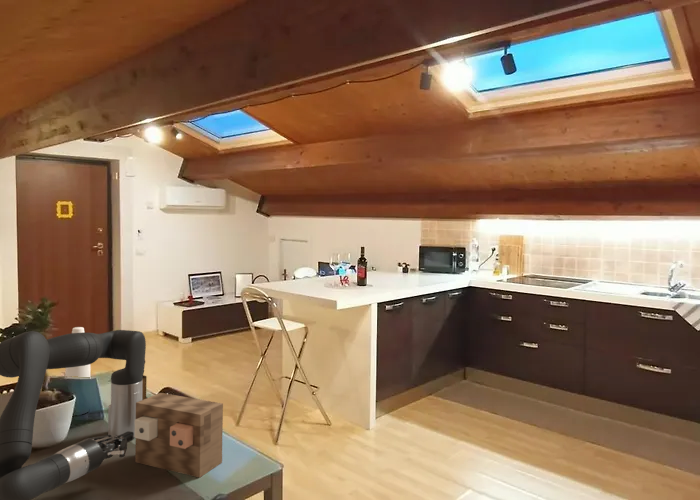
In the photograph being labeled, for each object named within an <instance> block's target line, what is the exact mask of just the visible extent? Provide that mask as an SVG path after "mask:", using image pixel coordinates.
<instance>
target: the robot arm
mask: <svg viewBox="0 0 700 500" xmlns="http://www.w3.org/2000/svg"><path fill="white" fill-rule="evenodd" d="M146 343H147V341H146V337H145V335H144V333H143V332H142V331H138V330H130V329H128V330H127V329H116V330H111V331H107V332H103V333H95V332H84V333H72V332H71V333H66V334H62V335H58V336H55V337H51V338H48V339H47V338H46V337H45V335H43V334H42V333H41V332H39V331H36V330H30V331H25V332H22V333H20V334H18V335H14V336H12V337H10V338H8V339H5V340H3V341H1V342H0V376H1V377H4V378H16V377H18V378H17V382H16V385H15V387H14V390H13V392H12V394H11V396H10V398H9V400H8V401H7V404H6V406H5V408H4V409H3V411H2V413H1V415H0V500H33V499H36V498H37V497H39V496H41V495H42V494H45V493H48V492H50V491H53V490H54V489H56V488H58V487H61V486H62V485H65V484H66V483H70V482H72V481H75V480H77V479H79V478H81V477H83V476H86V475H88V474H89V473H91V472H93V471H95V470H97V469H98V468H99V467H100V466H101V465H102V464H103V461H104V460H107V459H111V458H112V457H113V456H115V455H118V456H119V458H125V456H126V452H127V450H128V443H130V442H132V441H133V440H134V439H136V438H135V420H136V402H139V401H141V400H142V383H143V380H142V379H143V375H144V374H143V372H145V365H146V347H147V344H146ZM99 359H112V360H118V361H119V360H120V361H121V360H122V361H125V365H124V367H123V368H120V369H117V370H114V371H113V372H112V373H111V375H110V404H109V405H108V407H107V408H108V413H107V415H108V417H107V418H108V419H107V420H108V421H107V423H108V424H107V431H108V432H107V433H108V434H105V435H100V436H93V437H87V438H85V439H83V440H81V441H77V443H76V442H75V443H74V444H72V445H69V446H67V447H64V448H63V449H60V450H58V451H57V452H55V453H54V454H51V455H48V456H47V457H44V458H42V459H39V460H38V461H36V462H35V463H31V464H28V465H25V463H26V462H28V460H29V459H30V457H31V454H32V449H33V448H32V447H33V438H34V427H35V426H34V425H35V419H36V418H35V416H36V411H37V407H38V403H39V399H40V395H41V391H42V387H43V384H44V380H45V376H46V372H47V370H57V369H66V368H69V367H78V366H85V365H89V364H90V365H91V364H94V363H95V362H97V360H99ZM23 465H25V466H23Z"/></svg>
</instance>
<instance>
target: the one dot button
mask: <svg viewBox="0 0 700 500" xmlns="http://www.w3.org/2000/svg"><path fill="white" fill-rule="evenodd" d="M156 437H158V418H154V417H149V416H142V417H140V418H138V419H136V420H135V438H134V439H136V438H138V439H142V440H147V441H150V440H152V439H154V438H156Z"/></svg>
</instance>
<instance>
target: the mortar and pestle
mask: <svg viewBox="0 0 700 500" xmlns="http://www.w3.org/2000/svg"><path fill="white" fill-rule="evenodd" d="M144 372H145V371H144ZM144 372H143V379H142V380H143V383H142V400H144V399H146V398H148V397H147V378H148V377H147V375H144V374H145V373H144Z"/></svg>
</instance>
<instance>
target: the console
mask: <svg viewBox="0 0 700 500" xmlns="http://www.w3.org/2000/svg"><path fill="white" fill-rule="evenodd" d="M142 416H149V417H154V418H158V437H156V438H154V439H152V440H150V441H147V440H142V439H138V438H135V452H134V453H135V455H134V456H135V463H137V464H142V465H146V466H150V467H152V468H153V467H154V468H158V469H162V470H166V471H170V472H174V473H178V474H183V475H188V476H192V477H196V478H199V479H201V478H202V477H203V476H204V475H206V474H207V473H209V472H210V471H212V470H214V469H215V468H217V467H218V466H219V465H221V464H222V463H223V430H224V429H223V426H224V425H223V424H224V423H223V422H224V420H223V419H224V403H221V402H215V401H210V400H204V399H200V398H199V399H198V398H194V397H187V396H182V395H181V396H180V395H178V394H177V395H176V394H170V393H164V392H160V393H157V394H154V395H152V396H149V397H147V398H146V399H144V400H141V401H139V402H136V419H138V418H140V417H142ZM177 423H185V424H190V425H194V435H193V445H191V446H189V447H187V448H186V449H183V448H179V447H174V446H170V427H171V426H173V425H175V424H177Z"/></svg>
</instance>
